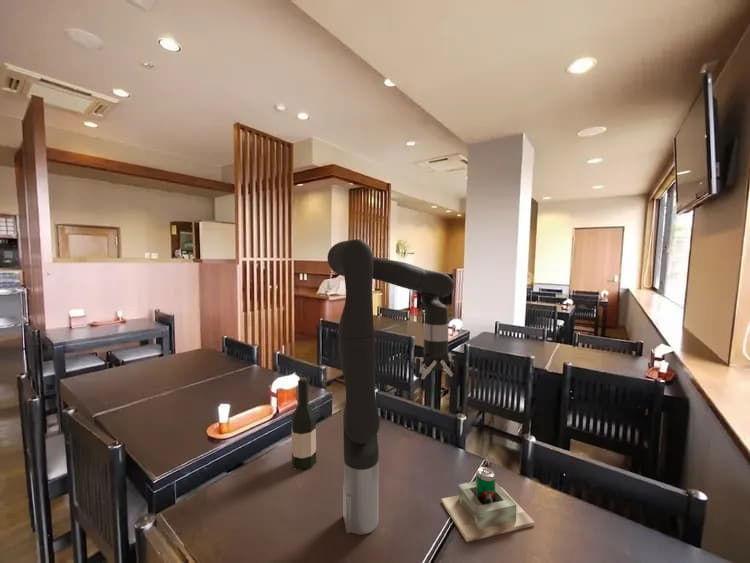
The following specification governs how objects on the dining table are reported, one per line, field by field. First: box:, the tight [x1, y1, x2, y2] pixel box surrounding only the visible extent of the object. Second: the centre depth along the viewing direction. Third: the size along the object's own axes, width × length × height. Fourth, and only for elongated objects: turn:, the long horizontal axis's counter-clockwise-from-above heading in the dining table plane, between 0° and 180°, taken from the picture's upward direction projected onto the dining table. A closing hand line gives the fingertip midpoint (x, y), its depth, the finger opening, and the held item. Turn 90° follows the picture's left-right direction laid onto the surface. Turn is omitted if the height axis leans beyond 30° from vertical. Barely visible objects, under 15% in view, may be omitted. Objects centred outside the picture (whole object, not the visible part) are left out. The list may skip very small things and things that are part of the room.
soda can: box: [475, 466, 497, 505], centre depth 90 cm, size 5×5×12 cm
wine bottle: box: [291, 376, 317, 471], centre depth 112 cm, size 8×8×30 cm
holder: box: [440, 480, 535, 543], centre depth 90 cm, size 20×14×6 cm
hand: (435, 388), depth 102 cm, fingers open, 8 cm apart
